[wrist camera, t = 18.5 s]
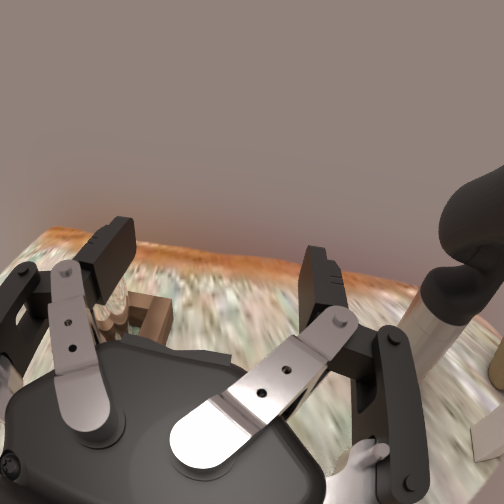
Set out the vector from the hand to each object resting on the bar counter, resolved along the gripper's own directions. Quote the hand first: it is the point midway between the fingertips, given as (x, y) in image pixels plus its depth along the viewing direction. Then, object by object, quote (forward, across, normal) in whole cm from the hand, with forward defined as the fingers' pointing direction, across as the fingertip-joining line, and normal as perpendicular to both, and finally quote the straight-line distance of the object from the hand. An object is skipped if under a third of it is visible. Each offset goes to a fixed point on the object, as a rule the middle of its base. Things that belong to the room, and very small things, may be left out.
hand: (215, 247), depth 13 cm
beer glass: (+13, +17, +32) cm, 38 cm away
